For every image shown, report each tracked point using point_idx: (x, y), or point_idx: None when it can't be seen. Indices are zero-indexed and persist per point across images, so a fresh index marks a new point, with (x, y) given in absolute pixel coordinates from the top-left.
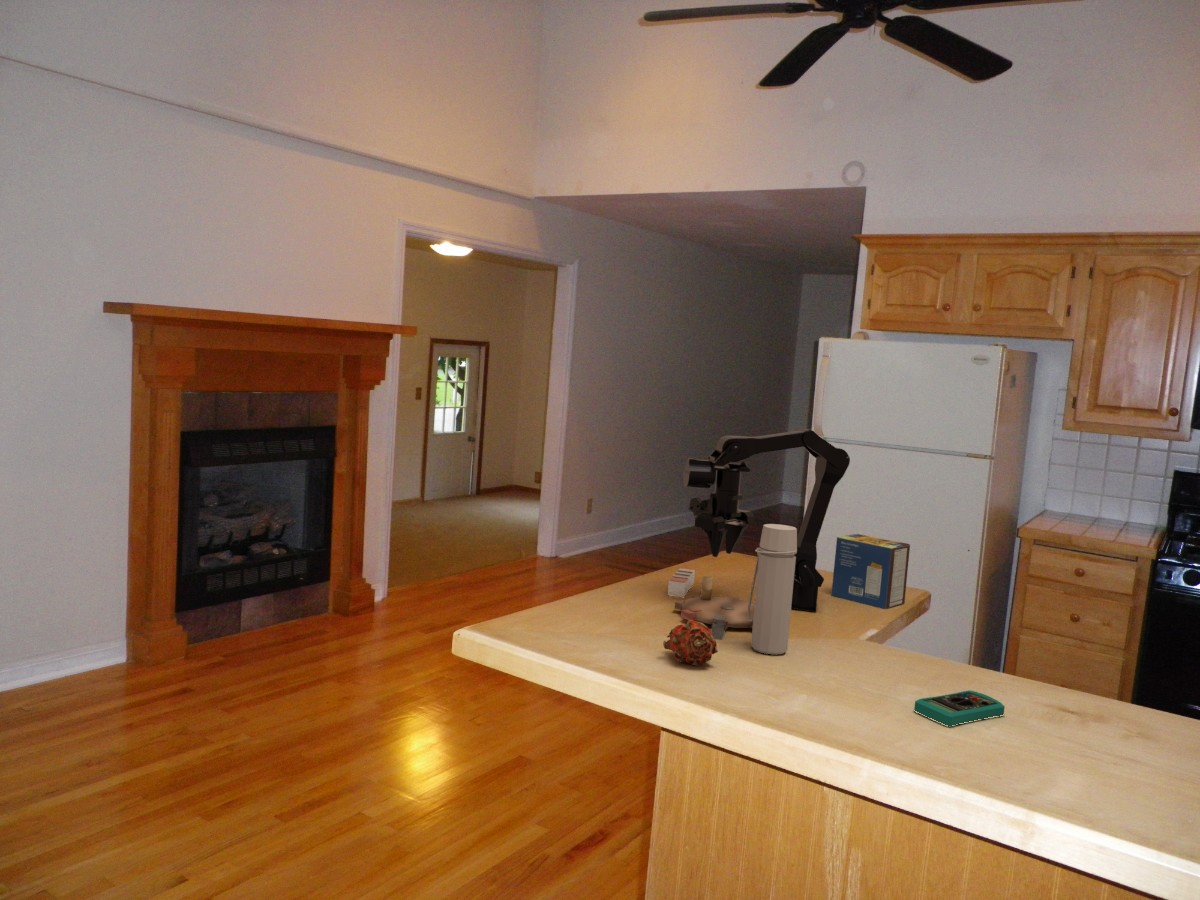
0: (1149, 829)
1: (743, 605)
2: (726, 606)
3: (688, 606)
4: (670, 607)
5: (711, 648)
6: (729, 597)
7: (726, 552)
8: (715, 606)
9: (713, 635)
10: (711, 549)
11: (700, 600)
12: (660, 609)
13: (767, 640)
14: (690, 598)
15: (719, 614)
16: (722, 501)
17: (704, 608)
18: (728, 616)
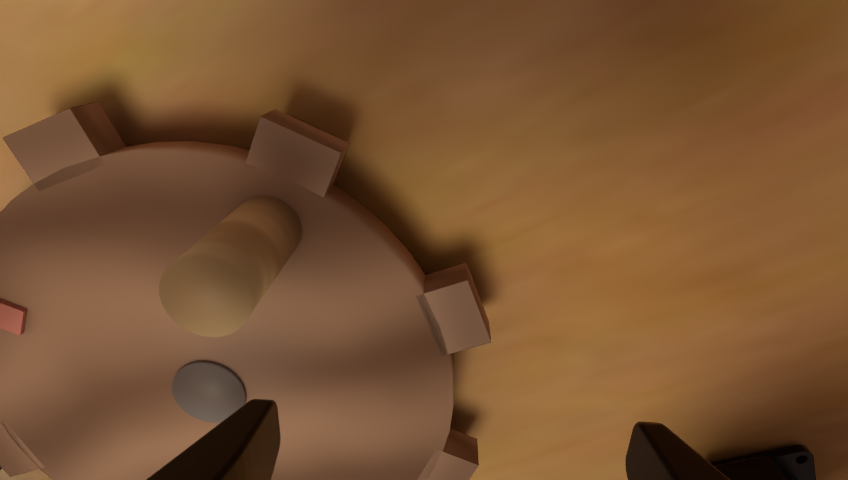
0: None
1: (337, 422)
2: (216, 385)
3: (21, 241)
4: (138, 28)
5: None
6: (436, 307)
7: (639, 427)
8: (177, 339)
9: None
10: (178, 461)
11: (206, 222)
12: (40, 10)
13: None
14: (183, 154)
15: (69, 412)
16: None
17: (82, 319)
18: (85, 449)
